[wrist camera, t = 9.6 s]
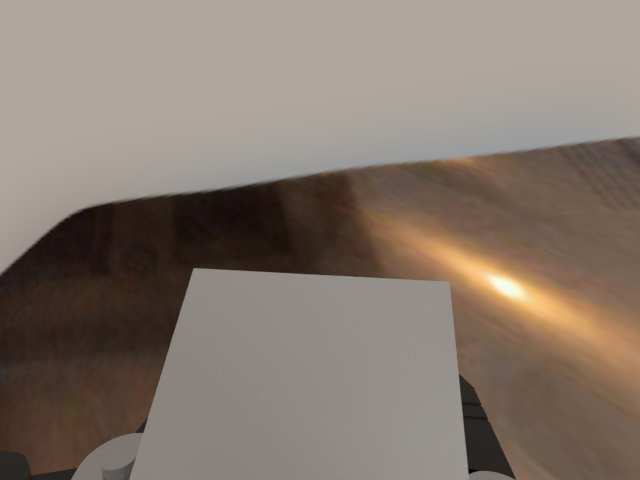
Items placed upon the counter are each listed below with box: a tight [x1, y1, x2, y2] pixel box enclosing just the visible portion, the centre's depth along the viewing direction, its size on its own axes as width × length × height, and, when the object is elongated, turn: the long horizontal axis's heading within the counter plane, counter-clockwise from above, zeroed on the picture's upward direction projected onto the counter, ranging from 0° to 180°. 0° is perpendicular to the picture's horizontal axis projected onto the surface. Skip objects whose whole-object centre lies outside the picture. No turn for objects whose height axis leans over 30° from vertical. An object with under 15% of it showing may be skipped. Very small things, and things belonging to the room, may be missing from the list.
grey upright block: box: [129, 268, 469, 480], centre depth 8 cm, size 4×6×8 cm
